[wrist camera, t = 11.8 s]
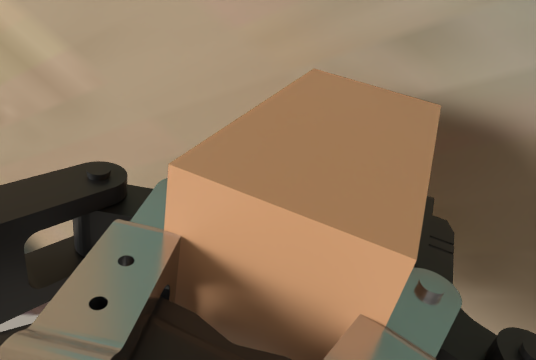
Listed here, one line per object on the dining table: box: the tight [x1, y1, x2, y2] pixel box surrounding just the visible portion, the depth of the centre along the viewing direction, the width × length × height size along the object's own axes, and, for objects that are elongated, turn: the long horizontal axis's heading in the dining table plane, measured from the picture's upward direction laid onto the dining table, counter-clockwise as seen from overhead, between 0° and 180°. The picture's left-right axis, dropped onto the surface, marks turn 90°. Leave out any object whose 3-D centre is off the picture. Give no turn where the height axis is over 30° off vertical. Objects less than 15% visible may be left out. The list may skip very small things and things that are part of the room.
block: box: [164, 69, 441, 360], centre depth 11 cm, size 4×6×8 cm, turn 168°
